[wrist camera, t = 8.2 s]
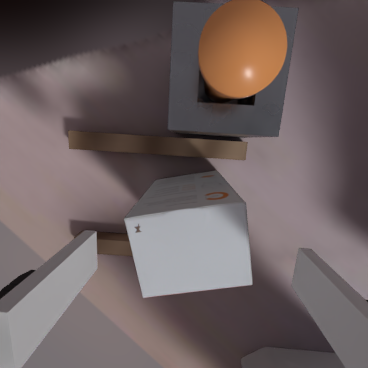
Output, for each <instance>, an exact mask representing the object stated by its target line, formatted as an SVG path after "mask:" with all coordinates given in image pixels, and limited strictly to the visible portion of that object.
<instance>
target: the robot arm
mask: <svg viewBox="0 0 368 368" xmlns="http://www.w3.org/2000/svg"><path fill="white" fill-rule="evenodd" d="M96 270H97V232H96V231H89V230H85V231H83V232H82V233H81V234H80V235H79V236H77V237H76V238H75V239H74V240H72V241H71V242H70V243H69V244H67V245H66V246H65V247H64V248H63V249H61V250H60V251H59V252H58V253H56V254H55V255H54V256H53V257H52V258H50V259H49V260H48V261H47V262H45V263H44V264H43V265H42V266H41V267H39V268H38V269H37V270H30V271H28V272H26V273H24V274H22V275H20V276H18V277H17V278H16V279H15V280H13V281H12V282H11V283H10V284H9V285H7V286H6V287H4V288H3V289H2V290H1V291H0V368H21V367H22V366H23V365H24V364H25V362H26V361H27V360H28V358H29V357H30V356H31V354H32V353H33V352H34V350H35V349H36V348H37V346H38V345H39V344H40V343H41V341H42V340H43V339H44V337H45V336H46V335H47V333H48V332H49V331H50V330H51V328H52V327H53V326H54V324H55V323H56V322H57V320H58V319H59V317H60V316H61V315H62V314H63V313H64V311H65V310H66V309H67V307H68V306H69V305H70V303H71V302H72V301H73V299H74V298H75V297H76V296H77V294H78V293H79V292H80V290H81V289H82V288H83V287H84V285H85V284H86V283H87V281H88V280H89V279H90V277H91V276H92V275H93V273H94V272H95V271H96ZM291 286H292V288H293V289H294V291H295V292H296V294H297V295H298V297H299V298H300V300H301V301H302V303H303V304H304V306H305V307H306V309H307V310H308V312H309V313H310V315H311V316H312V318H313V319H314V321H315V322H316V324H317V325H318V327H319V329H320V330H321V332H322V333H323V335H324V336H325V338H326V339H327V341H328V342H329V344H330V345H331V347H332V348H333V350H334V351H335V353H336V354H337V356H338V357H339V359H340V360H341V362H342V363H343V365H344V366H345V368H368V300H365V299H364V298H363V297H362V296H361V295H360V294H358V293H357V292H356V291H355V290H354V289H353V288H352V287H351V286H350V285H349V284H348V283H347V282H346V281H345V280H344V279H342V278H341V277H340V276H339V275H338V274H337V273H336V272H335V271H334V270H333V269H332V268H331V267H330V266H329V265H328V264H327V263H325V262H324V261H323V260H322V259H321V258H320V257H319V256H318V255H317V254H316V253H315V252H314V251H313V250H312V249H306V248H299V249H298V254H297V259H296V264H295V270H294V275H293V280H292V285H291Z"/></svg>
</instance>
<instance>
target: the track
mask: <svg viewBox="0 0 368 368" xmlns="http://www.w3.org/2000/svg"><path fill="white" fill-rule="evenodd" d="M68 138H69V149H81V150H97V151H112V152H127V153H142V154H158V155H173V156H188V157H203V158H219V159H234V160H245V159H246V151H247V143H248V142H238V141H223V140H207V139H191V138H176V137H160V136H145V135H129V134H113V133H98V132H82V131H68ZM82 232H83V231H81V232H80V233H79V234H78V235H76V236H75V237H74V239H75V238H76V237H77V236H79V235H80V234H81V233H82ZM97 254H108V255H122V256H133V254H132V250H131V245H130V241H129V237H128V234H122V233H108V232H97Z"/></svg>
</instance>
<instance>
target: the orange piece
mask: <svg viewBox="0 0 368 368" xmlns="http://www.w3.org/2000/svg"><path fill="white" fill-rule="evenodd" d="M286 52H287V35H286V30H285V27H284V24H283V22H282V20H281V18H280V17H279V15H278V14H277V13H276V11H275V10H274V9H273V8H272V7H271V6H269V5H268V4H266V3H264V2H262V1H260V0H232V1H229V2H227V3H225V4H224V5H222V6H221V7H219V8H218V9H217V10H216V11H215V12H214V13H213V14H212V15H211V16H210V18H209V19H208V21H207V22H206V24H205V26H204V28H203V30H202V33H201V37H200V41H199V49H198V63H199V68H200V72H201V74H202V77H203V78H204V89H205V93H206V95H207V96H208V97H209V99H211V100H212V101H214V102H216V103H227V102H230V101H231V100H233V99H241V98H246V97H250V96H252V95H254V94H256V93H258V92H259V91H261V90H262V89H264V88H265V87H266V86H268V85H269V84H270V83H271V82H272V81H273V80H274V79H275V77H276V76H277V75H278V73H279V72H280V70H281V68H282V66H283V63H284V60H285V57H286Z"/></svg>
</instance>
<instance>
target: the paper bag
mask: <svg viewBox="0 0 368 368" xmlns="http://www.w3.org/2000/svg"><path fill="white" fill-rule="evenodd" d="M241 365H242V368H345V366H344V365H343V363H342V362H341V360H340V359H339V357H338V356H337V354H336V353H331V352H319V351H308V350H297V349H285V348H274V347H264V348H261V349H259V350H257V351H255V352H253V353H251V354H248V355H246V356H244V357H243V358H242V359H241Z"/></svg>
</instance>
